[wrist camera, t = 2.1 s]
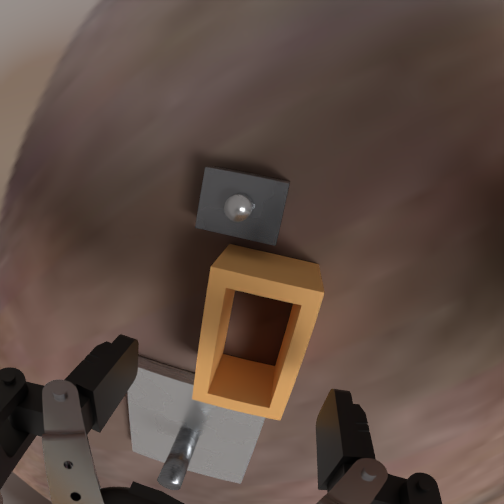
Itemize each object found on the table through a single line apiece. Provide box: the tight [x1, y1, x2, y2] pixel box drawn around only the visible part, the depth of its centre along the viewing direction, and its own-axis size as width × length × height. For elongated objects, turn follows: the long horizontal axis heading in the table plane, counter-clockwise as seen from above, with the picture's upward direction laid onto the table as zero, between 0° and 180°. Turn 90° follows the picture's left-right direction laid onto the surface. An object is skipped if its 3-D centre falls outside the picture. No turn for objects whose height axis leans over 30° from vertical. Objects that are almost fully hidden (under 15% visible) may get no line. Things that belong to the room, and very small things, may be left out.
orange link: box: [192, 244, 324, 420], centre depth 17 cm, size 5×8×4 cm, turn 168°
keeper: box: [127, 356, 265, 490], centre depth 19 cm, size 10×11×6 cm
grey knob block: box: [195, 166, 290, 246], centre depth 15 cm, size 4×3×3 cm
